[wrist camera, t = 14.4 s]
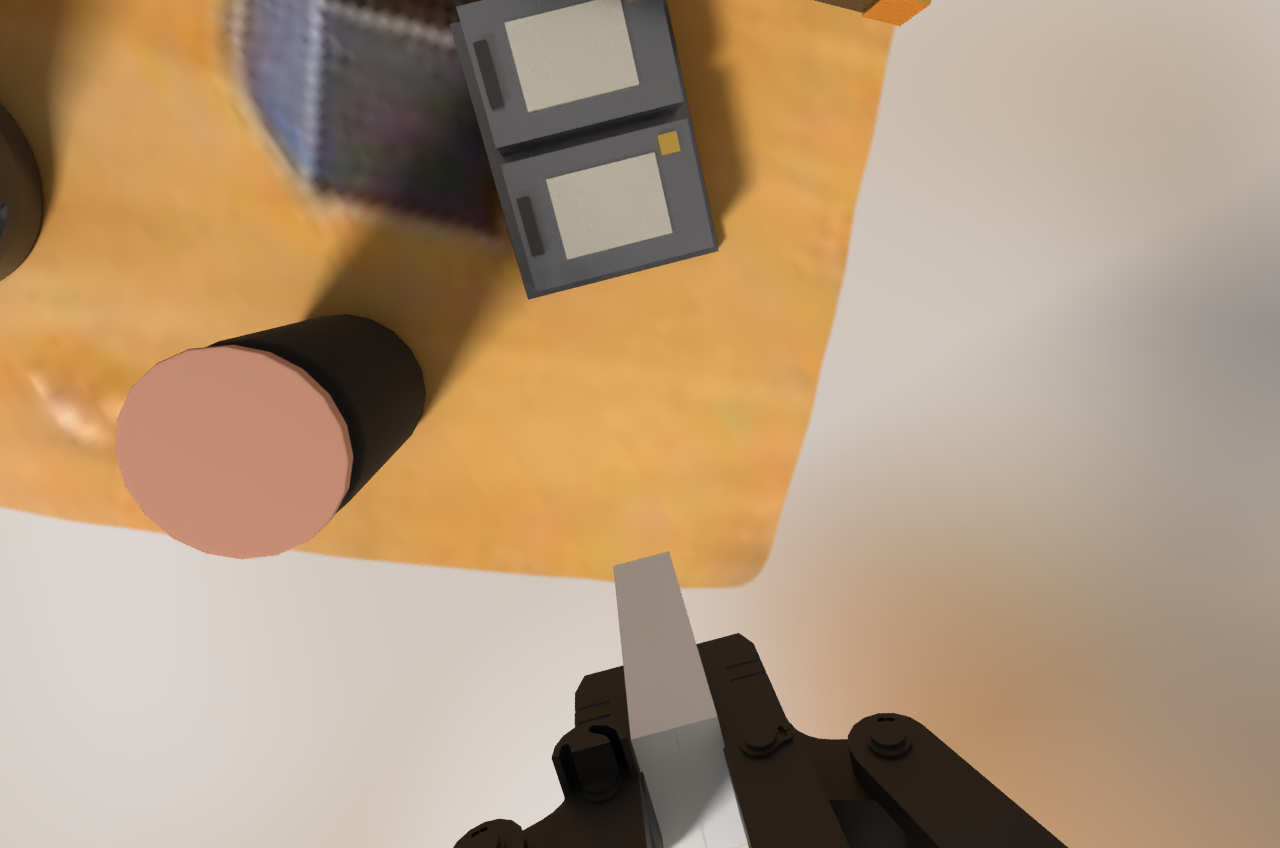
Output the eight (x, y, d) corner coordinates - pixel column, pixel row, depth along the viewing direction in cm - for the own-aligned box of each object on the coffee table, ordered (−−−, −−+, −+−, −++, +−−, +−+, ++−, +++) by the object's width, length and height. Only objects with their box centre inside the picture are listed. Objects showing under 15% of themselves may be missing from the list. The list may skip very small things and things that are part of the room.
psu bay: (529, 298, 49) (522, 304, 44) (452, 29, 45) (434, -3, 39) (715, 250, 50) (732, 250, 44) (658, -22, 45) (669, -60, 40)
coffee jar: (255, 334, 48) (71, 379, 31) (401, 296, 49) (300, 319, 31) (310, 472, 51) (170, 585, 34) (448, 435, 51) (380, 528, 34)
